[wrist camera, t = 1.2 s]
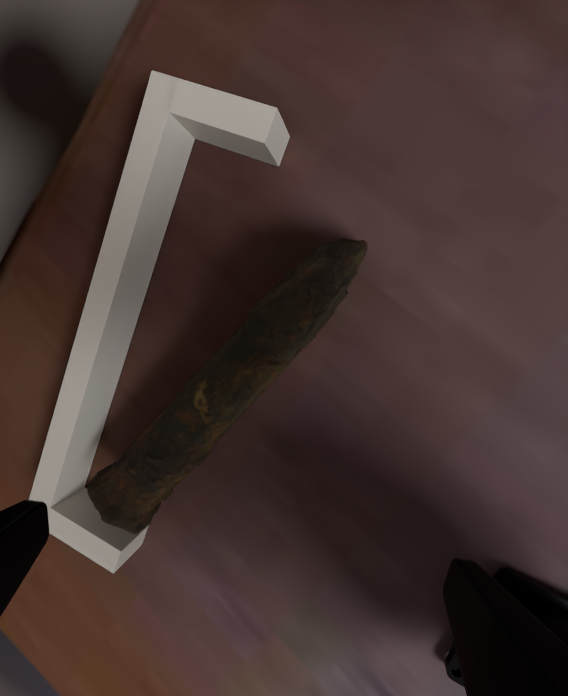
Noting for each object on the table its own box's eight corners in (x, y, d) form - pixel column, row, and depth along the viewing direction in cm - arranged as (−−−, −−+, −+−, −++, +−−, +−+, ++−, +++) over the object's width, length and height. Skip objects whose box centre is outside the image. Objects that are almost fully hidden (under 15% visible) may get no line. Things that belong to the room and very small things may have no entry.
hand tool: (163, 508, 21) (110, 559, 17) (122, 459, 22) (59, 496, 17) (404, 290, 17) (417, 281, 13) (348, 233, 18) (342, 204, 13)
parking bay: (289, 136, 17) (277, 107, 15) (141, 545, 22) (113, 573, 19) (179, 102, 19) (151, 70, 16) (60, 495, 23) (24, 516, 20)
